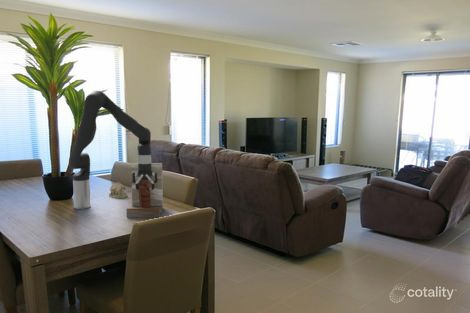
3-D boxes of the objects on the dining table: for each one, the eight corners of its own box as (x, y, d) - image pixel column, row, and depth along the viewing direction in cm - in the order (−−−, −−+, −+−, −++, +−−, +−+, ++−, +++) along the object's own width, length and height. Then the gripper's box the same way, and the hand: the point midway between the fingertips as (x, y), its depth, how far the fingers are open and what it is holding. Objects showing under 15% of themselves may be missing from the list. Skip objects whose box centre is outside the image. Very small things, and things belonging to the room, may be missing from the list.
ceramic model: (105, 196, 249) (105, 181, 248) (119, 193, 258) (118, 179, 257) (118, 199, 241) (117, 184, 240) (131, 196, 250) (131, 182, 249)
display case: (132, 208, 220) (131, 163, 216) (162, 208, 222) (162, 163, 218) (126, 217, 203) (125, 168, 199) (159, 217, 204) (158, 168, 200)
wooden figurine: (151, 211, 208) (151, 180, 206) (140, 212, 206) (139, 181, 203) (149, 206, 219) (148, 176, 217) (138, 206, 217) (137, 177, 214)
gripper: (130, 163, 204) (131, 191, 207) (156, 163, 206) (156, 191, 208) (133, 161, 212) (133, 188, 214) (158, 161, 213) (158, 188, 215)
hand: (145, 189), depth 211 cm, fingers open, 8 cm apart
